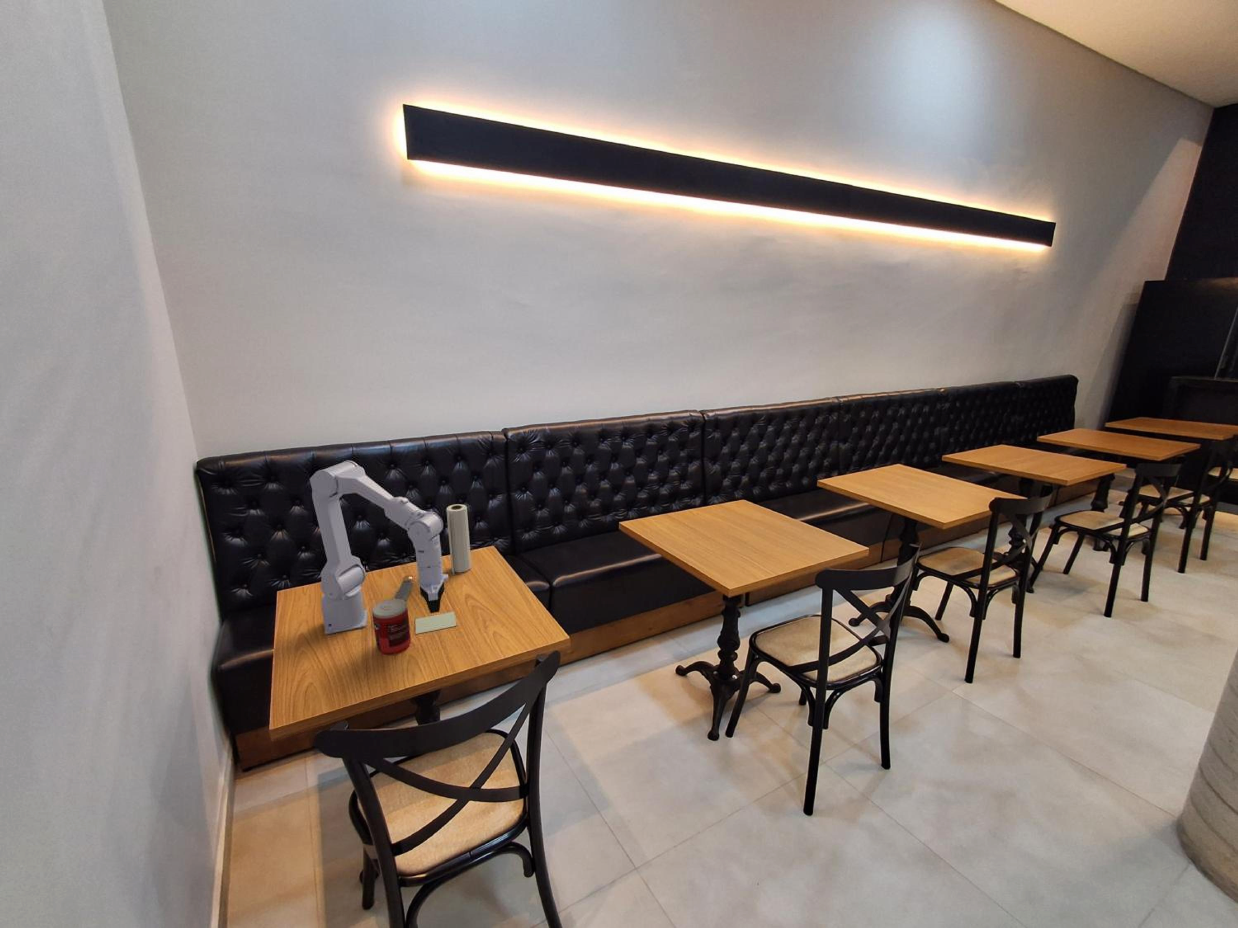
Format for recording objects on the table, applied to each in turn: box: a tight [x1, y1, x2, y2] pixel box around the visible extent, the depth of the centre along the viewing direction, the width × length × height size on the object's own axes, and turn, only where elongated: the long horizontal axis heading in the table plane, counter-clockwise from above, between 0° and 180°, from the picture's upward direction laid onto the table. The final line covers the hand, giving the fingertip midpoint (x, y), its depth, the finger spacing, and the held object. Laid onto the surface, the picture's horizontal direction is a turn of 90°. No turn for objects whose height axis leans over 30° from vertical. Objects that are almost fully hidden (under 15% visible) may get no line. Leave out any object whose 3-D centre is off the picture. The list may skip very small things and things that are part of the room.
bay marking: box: [414, 611, 457, 635], centre depth 135 cm, size 10×7×1 cm
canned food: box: [371, 598, 412, 656], centre depth 124 cm, size 8×8×11 cm
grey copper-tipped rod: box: [393, 574, 415, 603], centre depth 143 cm, size 18×3×3 cm, turn 8°
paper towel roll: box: [445, 503, 472, 576], centre depth 160 cm, size 7×6×21 cm
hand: (434, 611), depth 127 cm, fingers closed
